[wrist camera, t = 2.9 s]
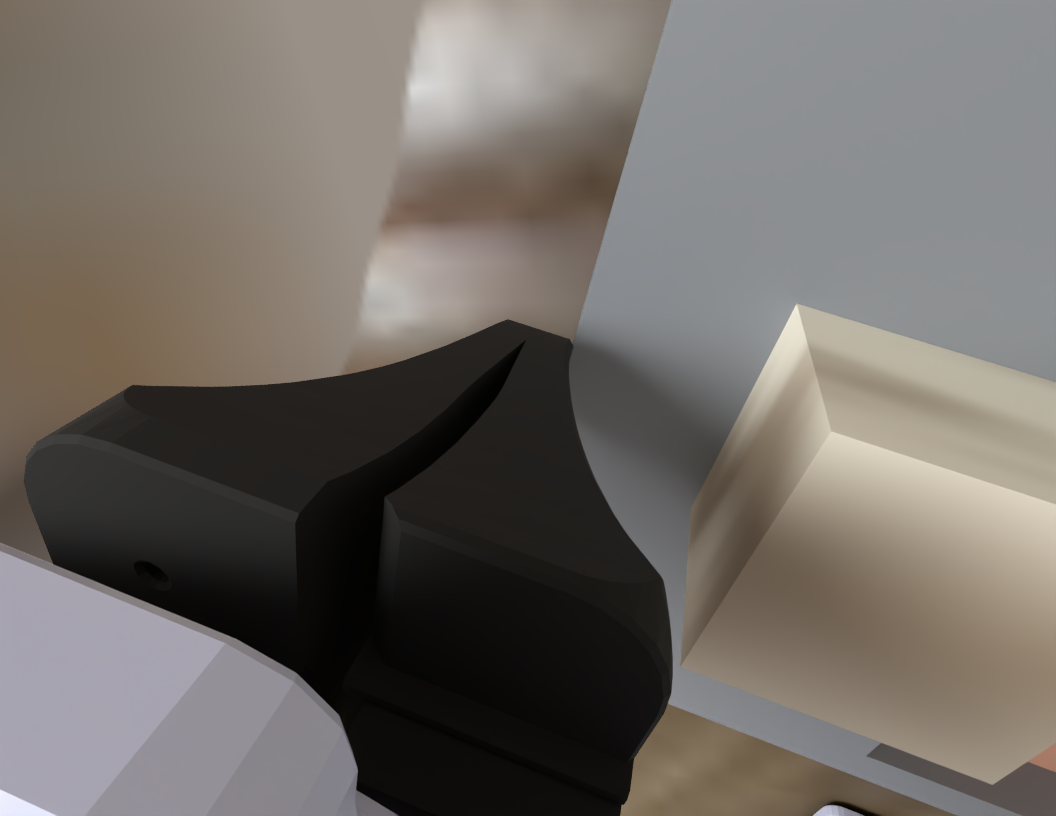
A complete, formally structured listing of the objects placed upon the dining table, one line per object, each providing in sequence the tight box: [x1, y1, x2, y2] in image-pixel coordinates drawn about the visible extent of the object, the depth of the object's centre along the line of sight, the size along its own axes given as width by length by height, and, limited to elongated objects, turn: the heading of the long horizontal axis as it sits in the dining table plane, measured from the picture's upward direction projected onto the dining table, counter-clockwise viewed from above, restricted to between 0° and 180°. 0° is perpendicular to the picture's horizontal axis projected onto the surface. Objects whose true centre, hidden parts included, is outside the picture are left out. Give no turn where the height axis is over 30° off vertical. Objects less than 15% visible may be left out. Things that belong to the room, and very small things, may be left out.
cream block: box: [680, 304, 1056, 785], centre depth 10 cm, size 5×5×4 cm
